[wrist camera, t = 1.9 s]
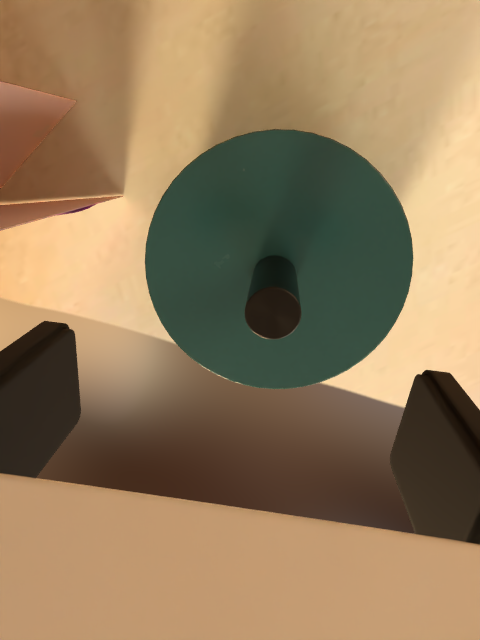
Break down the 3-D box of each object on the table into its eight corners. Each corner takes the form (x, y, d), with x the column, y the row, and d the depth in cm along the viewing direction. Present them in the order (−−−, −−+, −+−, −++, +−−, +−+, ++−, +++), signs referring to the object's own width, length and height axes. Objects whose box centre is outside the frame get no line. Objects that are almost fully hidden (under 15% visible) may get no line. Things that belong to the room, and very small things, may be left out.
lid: (440, 145, 19) (515, 141, 13) (373, 392, 25) (403, 470, 19) (150, 117, 20) (94, 101, 14) (151, 364, 26) (111, 429, 20)
